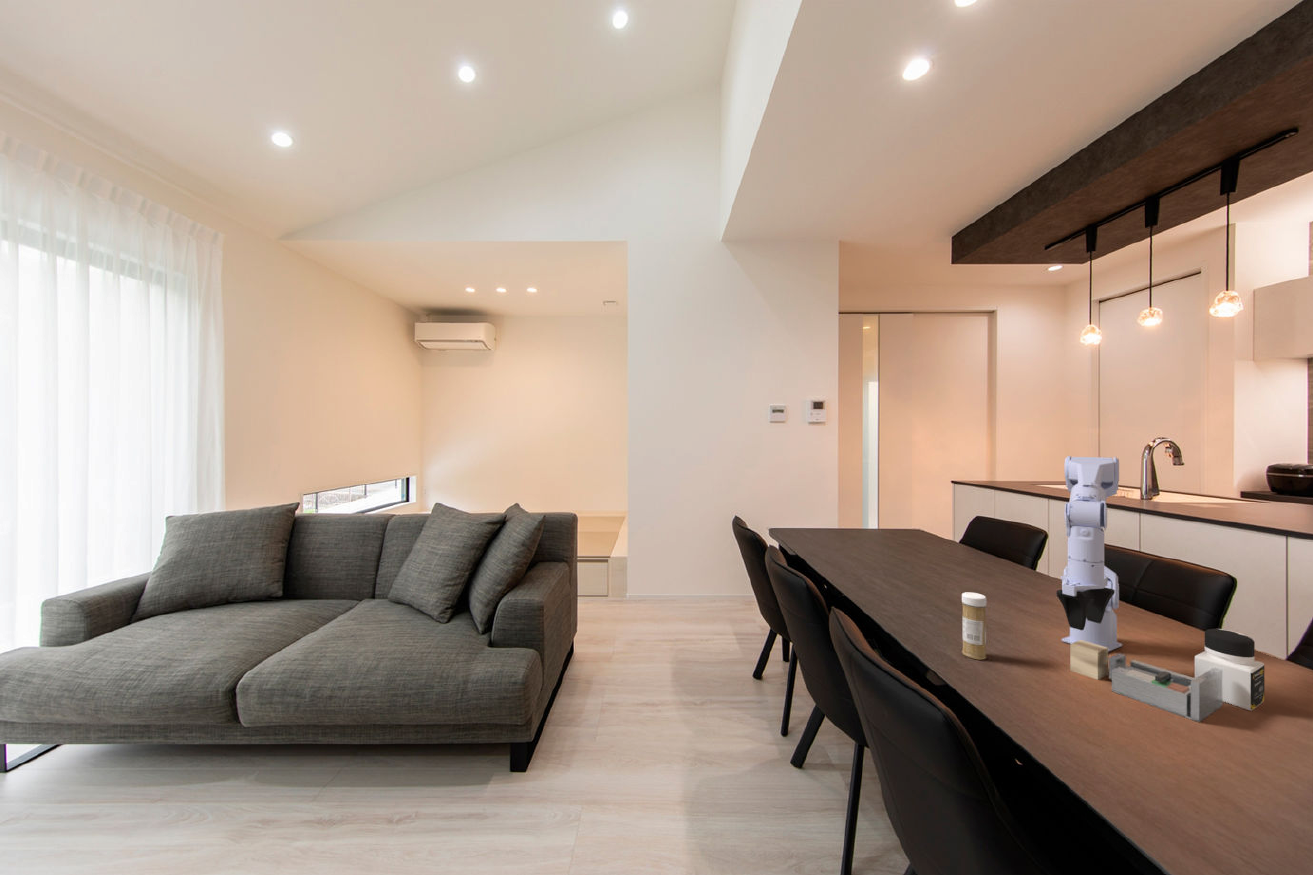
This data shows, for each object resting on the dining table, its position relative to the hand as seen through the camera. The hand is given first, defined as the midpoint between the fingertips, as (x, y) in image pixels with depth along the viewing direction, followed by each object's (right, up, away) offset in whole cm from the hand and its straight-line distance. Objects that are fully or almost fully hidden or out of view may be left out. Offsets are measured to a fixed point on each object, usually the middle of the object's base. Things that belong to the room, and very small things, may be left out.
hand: (1085, 625), depth 102 cm
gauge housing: (+5, -9, -11) cm, 15 cm away
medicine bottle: (+17, -10, -10) cm, 22 cm away
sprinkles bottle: (-19, -10, +7) cm, 22 cm away
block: (0, -10, -1) cm, 10 cm away
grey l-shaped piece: (+2, -8, -9) cm, 12 cm away
